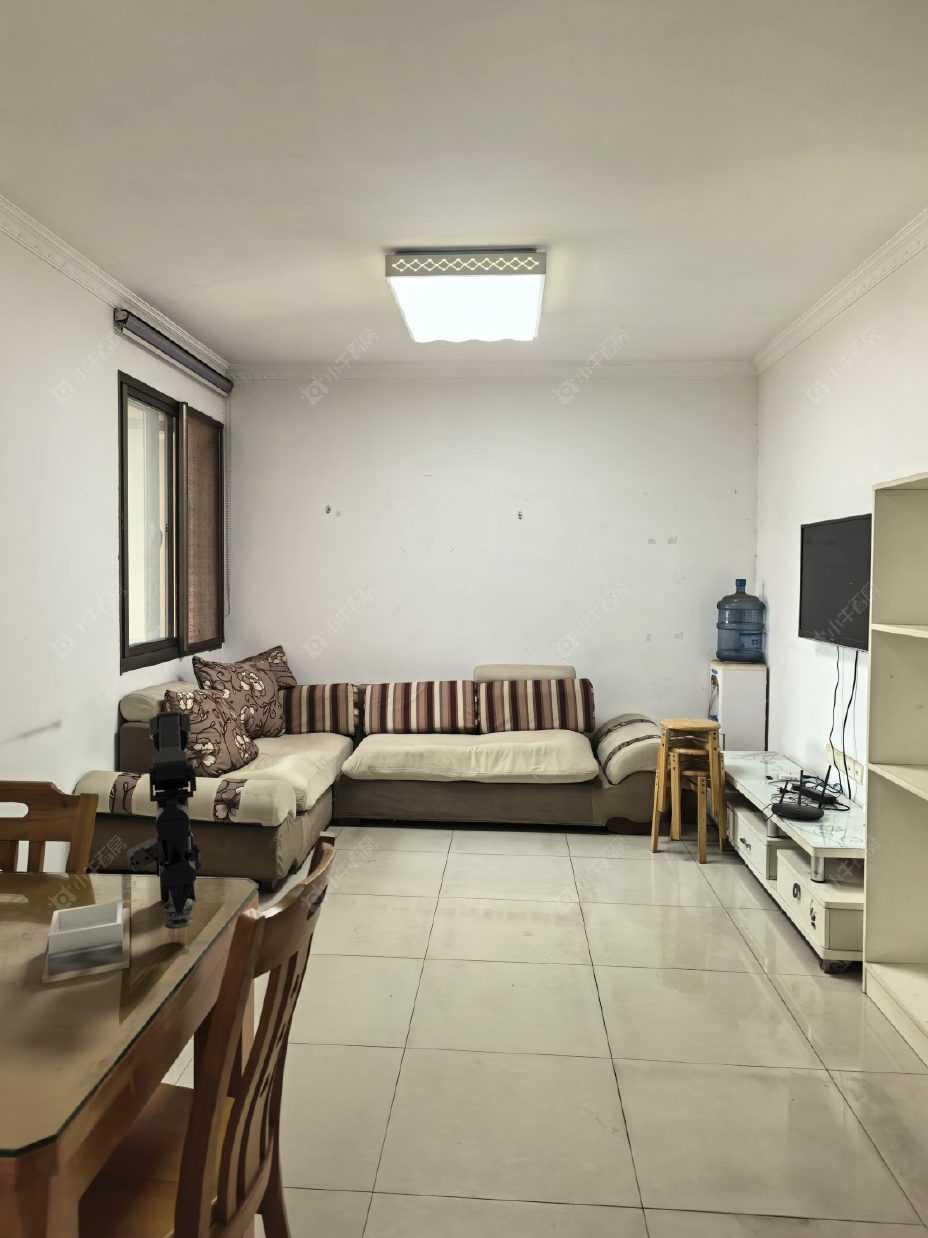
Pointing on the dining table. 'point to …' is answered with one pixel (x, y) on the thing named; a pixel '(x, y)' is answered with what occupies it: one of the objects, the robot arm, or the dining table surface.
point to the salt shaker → (174, 918)
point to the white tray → (86, 926)
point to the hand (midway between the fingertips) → (178, 904)
